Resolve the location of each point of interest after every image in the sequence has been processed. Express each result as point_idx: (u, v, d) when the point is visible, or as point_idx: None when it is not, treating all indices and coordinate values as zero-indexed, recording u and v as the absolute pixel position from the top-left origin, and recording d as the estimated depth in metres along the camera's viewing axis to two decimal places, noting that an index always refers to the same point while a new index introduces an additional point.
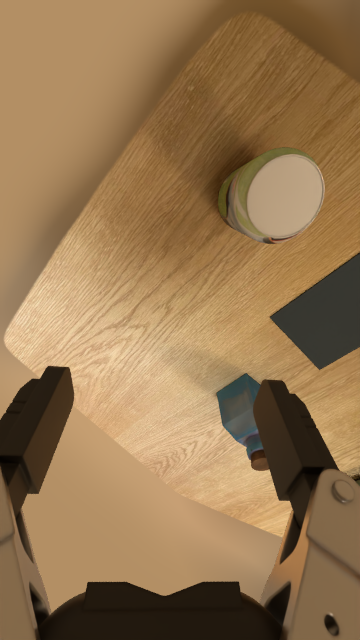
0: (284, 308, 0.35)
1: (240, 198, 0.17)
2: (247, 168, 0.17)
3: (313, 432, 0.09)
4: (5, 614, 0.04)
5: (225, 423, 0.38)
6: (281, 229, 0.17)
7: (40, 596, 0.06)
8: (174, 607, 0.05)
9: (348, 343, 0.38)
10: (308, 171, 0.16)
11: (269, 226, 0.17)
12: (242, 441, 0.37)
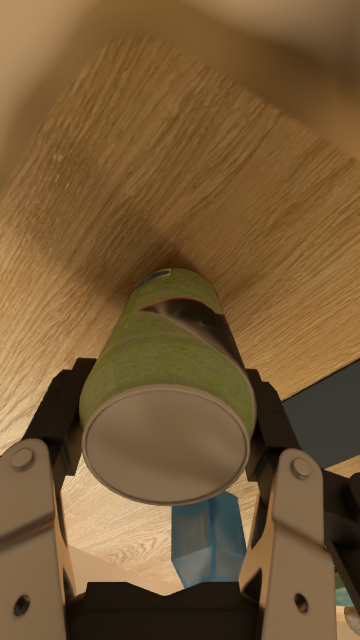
0: None
1: (82, 431, 0.08)
2: (91, 376, 0.08)
3: (281, 416, 0.09)
4: (40, 594, 0.05)
5: (174, 558, 0.29)
6: (169, 493, 0.08)
7: (70, 582, 0.06)
8: (174, 607, 0.05)
9: (335, 454, 0.29)
10: (208, 414, 0.07)
11: (143, 489, 0.08)
12: None
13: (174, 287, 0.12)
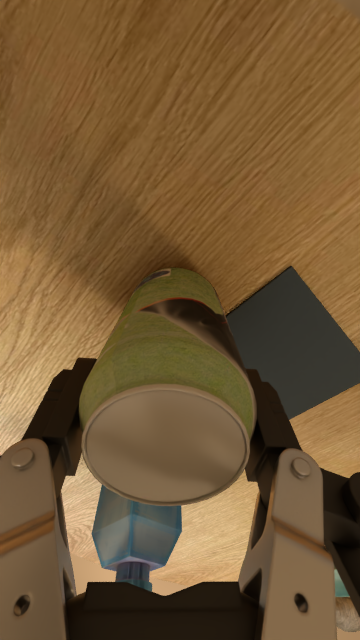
0: None
1: (82, 430, 0.08)
2: (91, 376, 0.08)
3: (281, 416, 0.09)
4: (40, 594, 0.05)
5: (94, 531, 0.25)
6: (169, 493, 0.08)
7: (70, 582, 0.06)
8: (174, 607, 0.05)
9: None
10: (208, 414, 0.07)
11: (143, 489, 0.08)
12: (111, 568, 0.23)
13: (174, 288, 0.12)
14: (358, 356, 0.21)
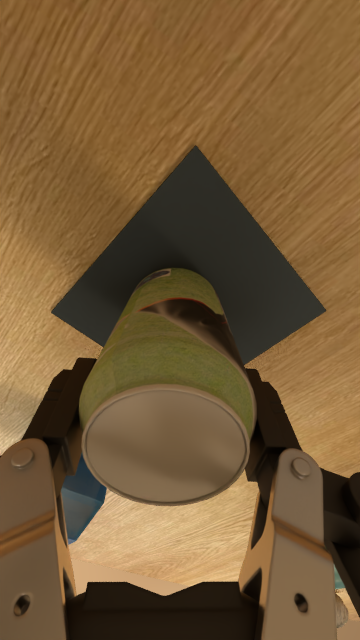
0: (70, 294, 0.18)
1: (82, 431, 0.08)
2: (91, 376, 0.08)
3: (281, 416, 0.09)
4: (41, 594, 0.05)
5: None
6: (169, 493, 0.08)
7: (70, 582, 0.06)
8: (174, 607, 0.05)
9: None
10: (208, 414, 0.07)
11: (143, 489, 0.08)
12: None
13: (174, 288, 0.12)
14: (300, 285, 0.18)
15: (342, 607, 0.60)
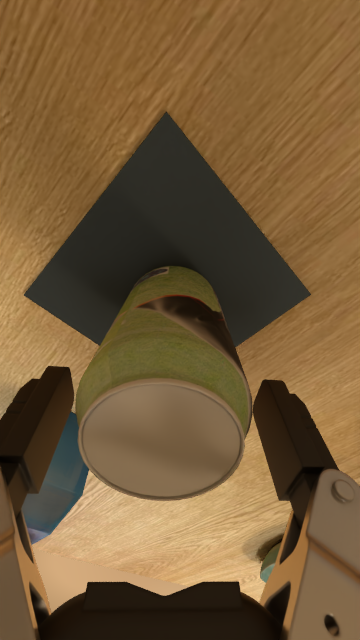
0: (42, 275, 0.17)
1: (79, 425, 0.08)
2: (87, 371, 0.08)
3: (313, 432, 0.09)
4: (5, 614, 0.04)
5: None
6: (164, 488, 0.08)
7: (40, 596, 0.06)
8: (174, 607, 0.05)
9: None
10: (203, 408, 0.07)
11: (139, 484, 0.08)
12: None
13: (172, 285, 0.12)
14: (282, 266, 0.17)
15: None
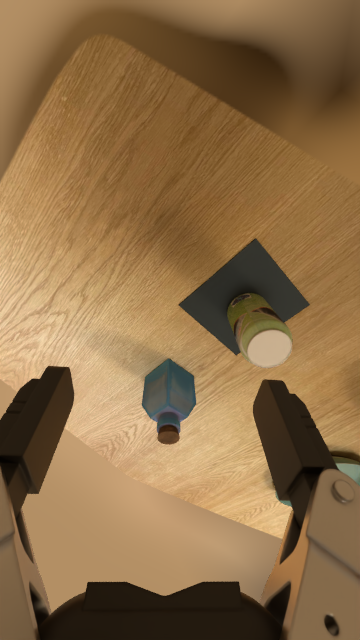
0: (190, 296, 0.38)
1: (243, 345, 0.30)
2: (247, 329, 0.29)
3: (313, 432, 0.09)
4: (5, 614, 0.04)
5: (143, 403, 0.42)
6: (267, 363, 0.30)
7: (40, 596, 0.06)
8: (174, 607, 0.05)
9: None
10: (282, 337, 0.28)
11: (260, 362, 0.29)
12: (155, 419, 0.40)
13: (258, 303, 0.33)
14: (297, 292, 0.38)
15: None
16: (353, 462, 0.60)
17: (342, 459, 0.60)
